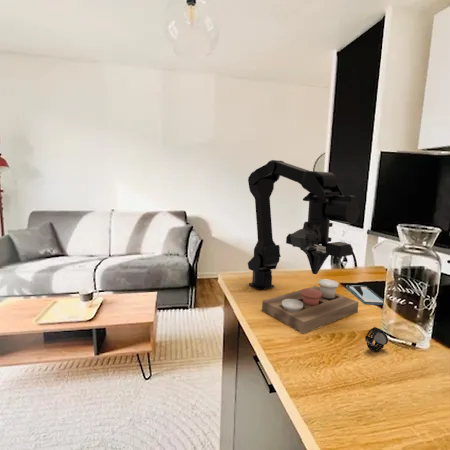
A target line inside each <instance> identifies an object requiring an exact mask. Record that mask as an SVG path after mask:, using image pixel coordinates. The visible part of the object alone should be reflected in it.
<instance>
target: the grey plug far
mask: <svg viewBox="0 0 450 450" xmlns="http://www.w3.org/2000/svg"><path fill="white" fill-rule="evenodd" d="M317 284H318V286H319V287H320V292H321V293H322V297H325V298H335V294H337V288H339V284H340V283H339V282H338V281H336V280H333V279H327V278H326V279H324V278H321V279H319V280H318V282H317Z"/></svg>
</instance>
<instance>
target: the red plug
mask: <svg viewBox="0 0 450 450" xmlns="http://www.w3.org/2000/svg"><path fill="white" fill-rule="evenodd" d="M300 290H301V295H302V296H303V303H305V304H307V305H309V306H315V305H318V304H319V298H320V297H321V296H322V293H321V292H320V291H319V290H316V289H310V287H308V288H307V287H306V288H303V289H302V288H301V289H300Z"/></svg>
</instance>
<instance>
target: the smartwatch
mask: <svg viewBox="0 0 450 450" xmlns="http://www.w3.org/2000/svg"><path fill="white" fill-rule="evenodd" d="M364 341H365V342H366V346H367V348H368V349H369V350H370V351H373V352H375V353H378V352H380V351H381V350H382V349H383V348H384V346H385V345H388V343H389V338H388V335H387V334H386V332H385V331H384V330H382V329H381V328H378V327H376V326H374V327H372V328H370V330H369V331H368V332H367V334H365V336H364Z"/></svg>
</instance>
